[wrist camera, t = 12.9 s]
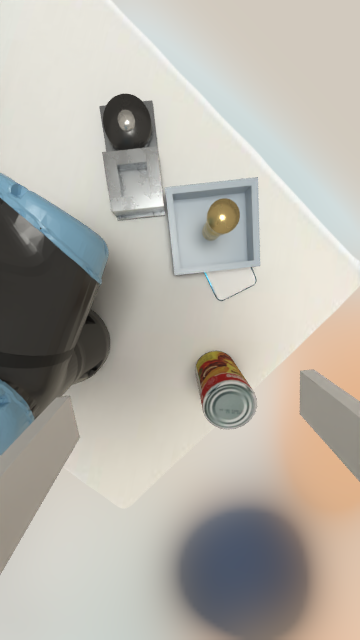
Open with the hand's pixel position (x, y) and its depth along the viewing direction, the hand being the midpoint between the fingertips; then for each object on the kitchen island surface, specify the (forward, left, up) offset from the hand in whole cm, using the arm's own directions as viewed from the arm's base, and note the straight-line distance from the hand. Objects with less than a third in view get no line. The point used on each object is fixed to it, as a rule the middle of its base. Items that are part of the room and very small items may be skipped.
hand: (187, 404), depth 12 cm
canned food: (+6, -12, -29) cm, 32 cm away
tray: (+7, +14, -29) cm, 32 cm away
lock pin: (+7, +14, -28) cm, 32 cm away
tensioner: (-4, +25, -29) cm, 38 cm away
